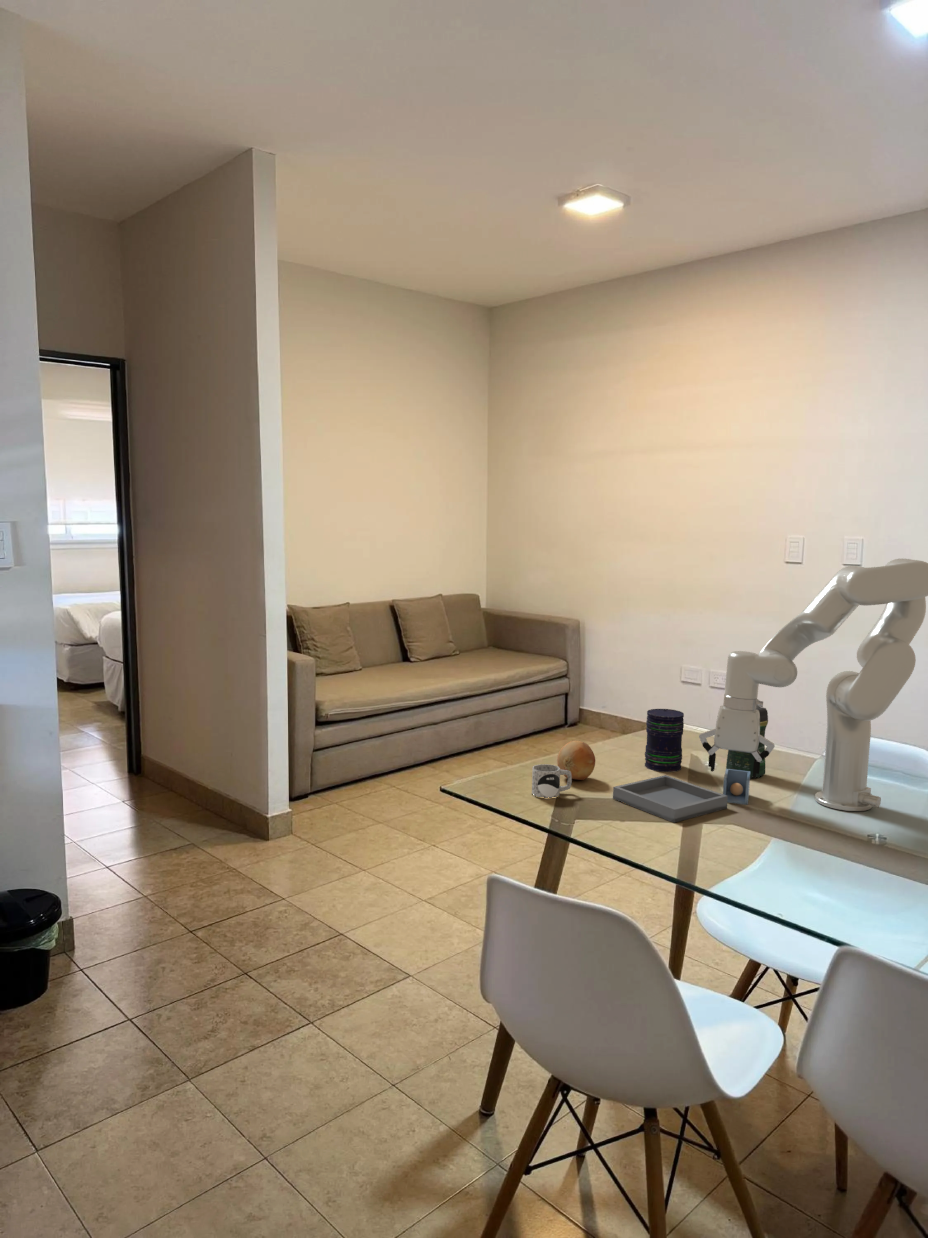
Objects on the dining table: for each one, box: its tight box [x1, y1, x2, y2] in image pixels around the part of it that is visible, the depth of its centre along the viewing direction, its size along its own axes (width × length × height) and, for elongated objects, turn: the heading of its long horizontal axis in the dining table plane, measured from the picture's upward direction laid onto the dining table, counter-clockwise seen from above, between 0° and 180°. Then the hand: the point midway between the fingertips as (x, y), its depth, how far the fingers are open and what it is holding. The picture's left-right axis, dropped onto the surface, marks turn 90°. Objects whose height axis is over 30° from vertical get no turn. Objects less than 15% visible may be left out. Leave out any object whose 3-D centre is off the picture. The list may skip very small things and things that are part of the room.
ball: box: [730, 783, 743, 796], centre depth 210 cm, size 3×3×3 cm
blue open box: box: [722, 768, 751, 806], centre depth 209 cm, size 8×6×6 cm
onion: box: [556, 739, 596, 781], centre depth 222 cm, size 10×10×10 cm
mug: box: [531, 763, 573, 798], centre depth 210 cm, size 10×7×7 cm, turn 106°
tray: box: [612, 774, 728, 824], centre depth 205 cm, size 19×18×3 cm
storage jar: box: [644, 708, 685, 773], centre depth 234 cm, size 10×10×15 cm
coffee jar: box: [725, 706, 769, 778], centre depth 229 cm, size 10×8×19 cm
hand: (733, 773), depth 209 cm, fingers open, 9 cm apart
